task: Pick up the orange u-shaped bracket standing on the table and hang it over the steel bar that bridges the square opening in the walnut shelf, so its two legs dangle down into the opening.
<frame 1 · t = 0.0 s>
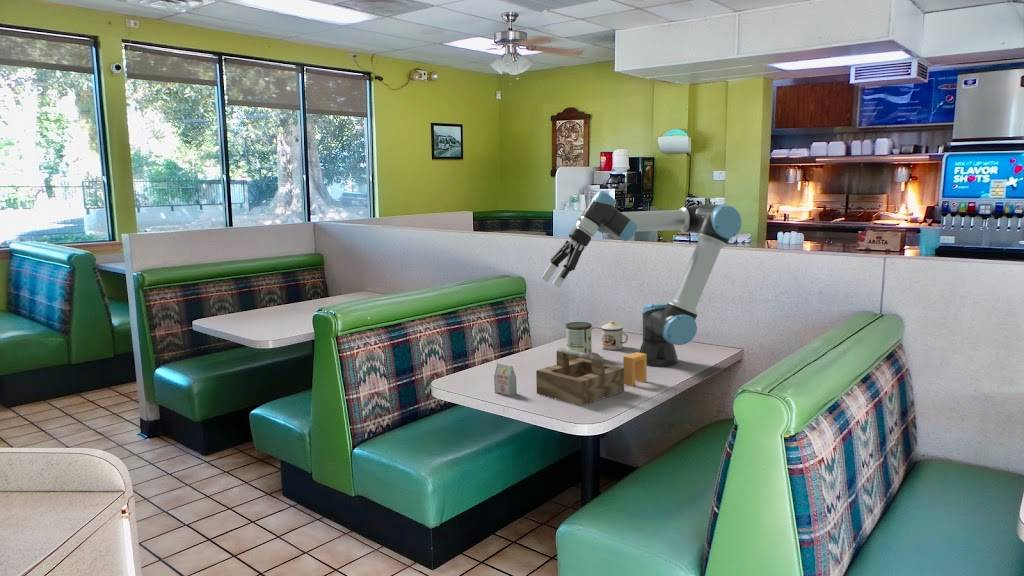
hand: (549, 282, 245), 36 cm above the table, tool tilted 35°, fingers open, 13 cm apart
teacup with lid: (615, 348, 298), on the table
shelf: (580, 392, 239), on the table
tin: (582, 375, 259), on the table
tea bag: (505, 393, 240), on the table
orange u-shaped bracket: (634, 382, 248), on the table
coffee can: (579, 359, 283), on the table
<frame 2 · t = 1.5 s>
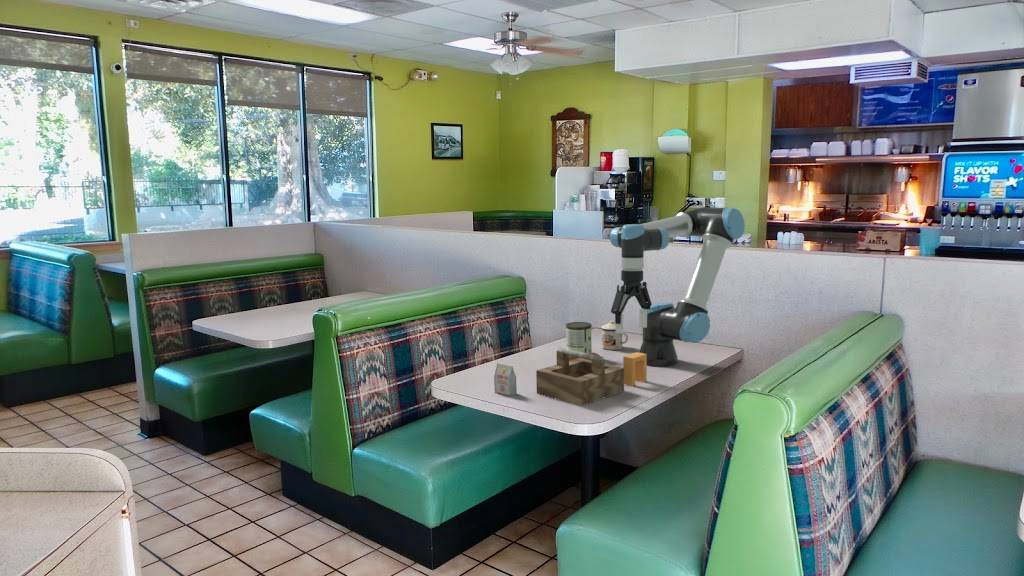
hand: (631, 330, 245), 19 cm above the table, tool pointing down, fingers open, 13 cm apart
nothing on the table moved.
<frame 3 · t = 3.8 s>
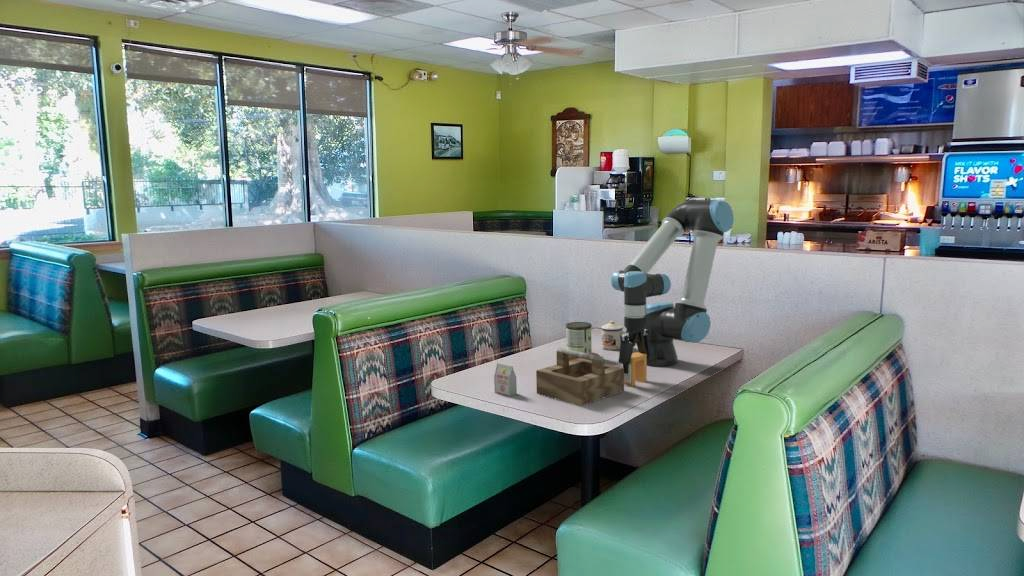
hand: (634, 379, 248), 1 cm above the table, tool pointing down, fingers closed on orange u-shaped bracket, 8 cm apart
orange u-shaped bracket: (634, 382, 248), on the table, touching gripper
everything else where it was.
when the fingers open (8 cm above the table, at t = 10.6 s): orange u-shaped bracket drops 1 cm, resting on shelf.
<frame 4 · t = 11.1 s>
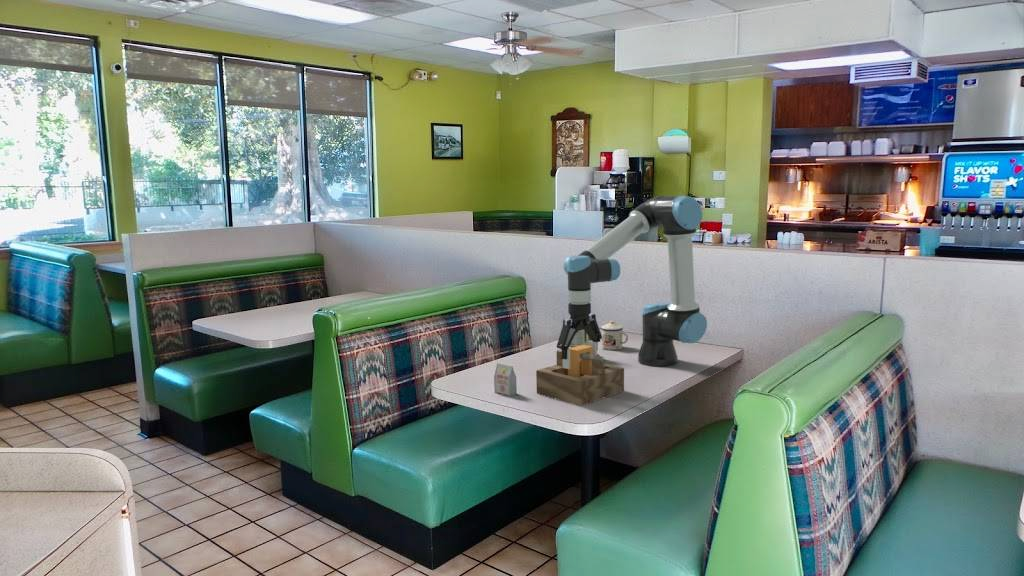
hand: (580, 364, 237), 10 cm above the table, tool pointing down, fingers open, 13 cm apart
orange u-shaped bracket: (580, 376, 238), point 5 cm above the table, touching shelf
everything else where it was.
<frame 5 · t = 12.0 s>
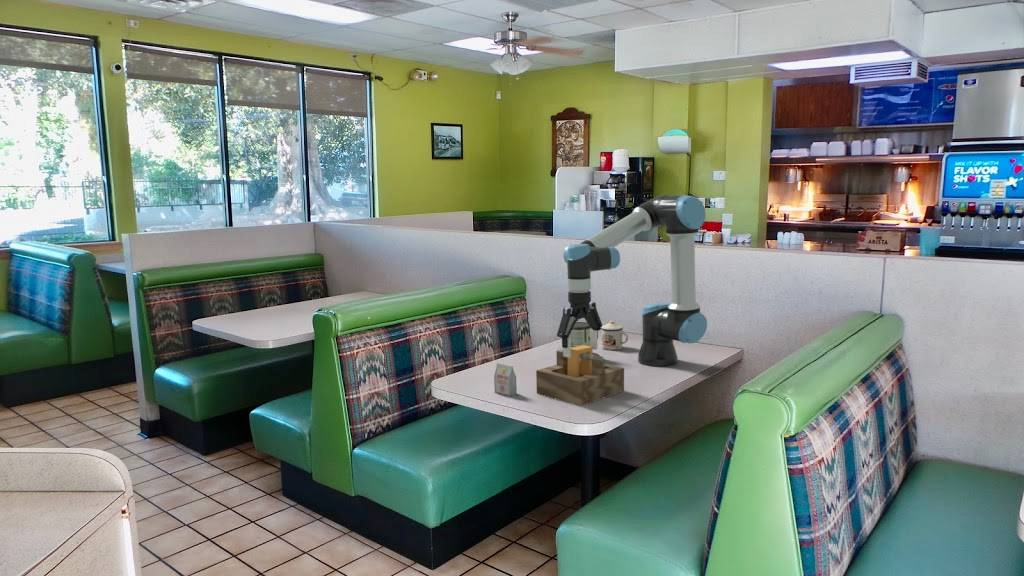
hand: (580, 352, 237), 14 cm above the table, tool pointing down, fingers open, 13 cm apart
nothing on the table moved.
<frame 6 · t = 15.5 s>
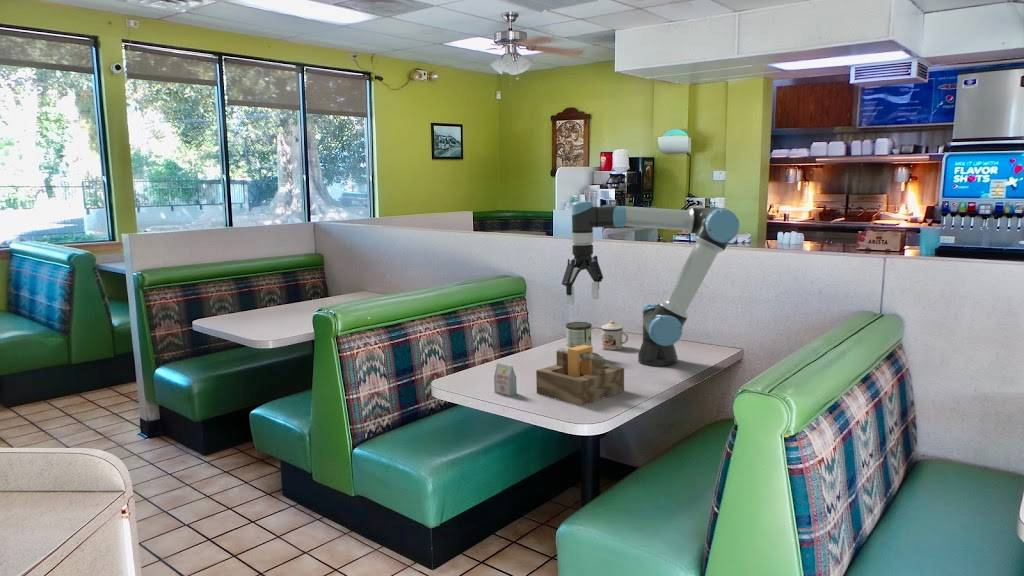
hand: (583, 301, 260), 27 cm above the table, tool pointing down, fingers open, 13 cm apart
nothing on the table moved.
at the end: orange u-shaped bracket 0.0 cm off-centre on the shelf, point 5.5 cm above the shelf's base; orange u-shaped bracket tilted 0°; the gripper is holding nothing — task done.
